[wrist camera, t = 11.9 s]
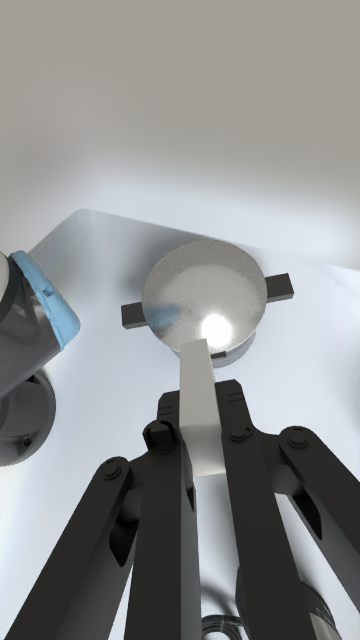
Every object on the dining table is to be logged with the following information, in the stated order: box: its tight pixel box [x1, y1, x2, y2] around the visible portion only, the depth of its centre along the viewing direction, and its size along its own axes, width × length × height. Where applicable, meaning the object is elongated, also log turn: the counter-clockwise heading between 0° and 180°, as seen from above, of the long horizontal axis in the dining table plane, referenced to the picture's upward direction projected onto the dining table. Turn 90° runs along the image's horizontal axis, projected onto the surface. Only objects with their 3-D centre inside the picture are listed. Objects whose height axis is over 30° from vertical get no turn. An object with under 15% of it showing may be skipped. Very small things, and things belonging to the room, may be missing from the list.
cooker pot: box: [121, 273, 294, 368], centre depth 45 cm, size 23×15×10 cm, turn 98°
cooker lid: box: [142, 240, 267, 361], centre depth 39 cm, size 16×17×1 cm
